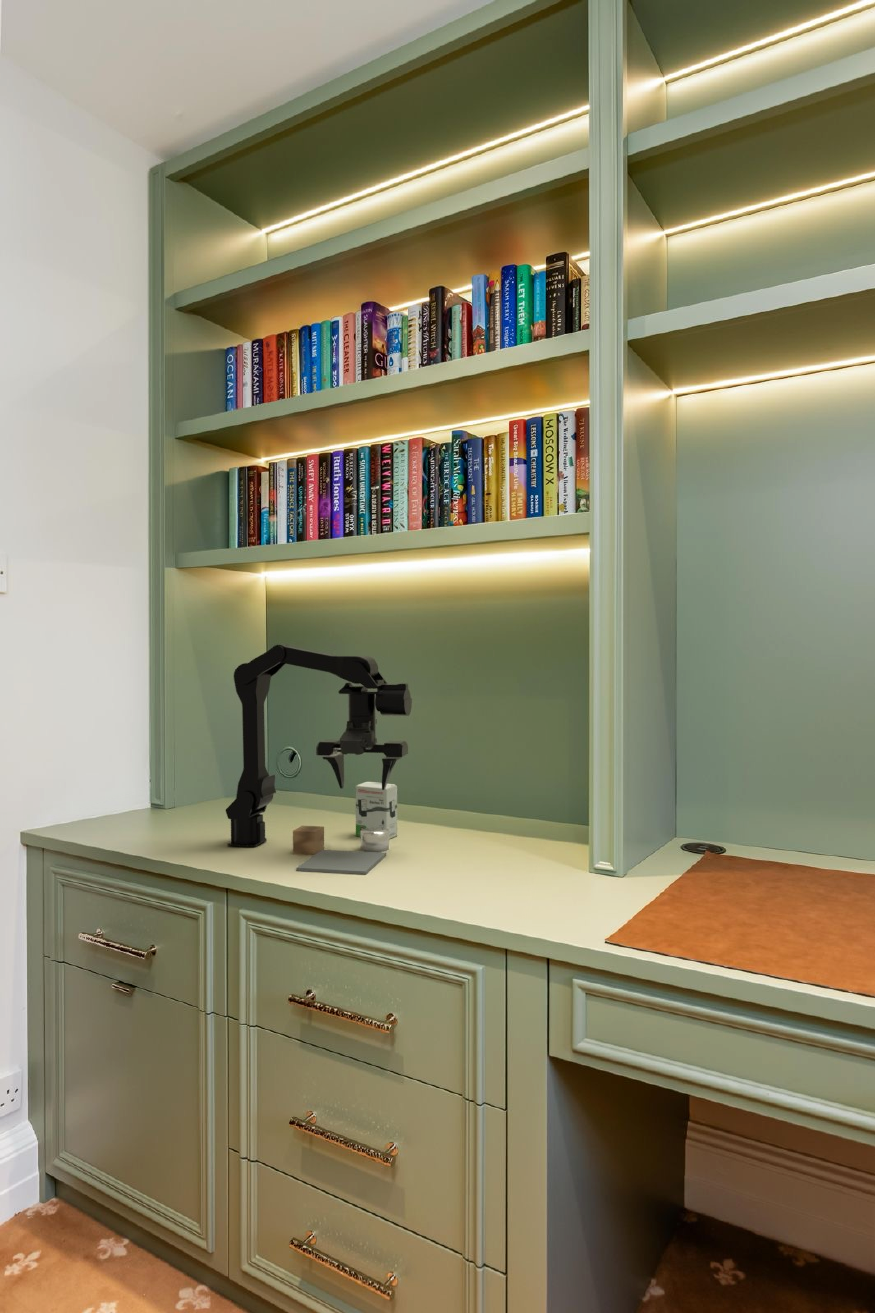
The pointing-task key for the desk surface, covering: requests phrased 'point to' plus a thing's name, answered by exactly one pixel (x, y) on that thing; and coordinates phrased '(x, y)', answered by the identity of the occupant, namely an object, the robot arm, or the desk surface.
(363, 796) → the ink box
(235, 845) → the robot arm
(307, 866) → the mat
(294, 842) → the walnut block
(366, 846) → the tin
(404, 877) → the desk surface
